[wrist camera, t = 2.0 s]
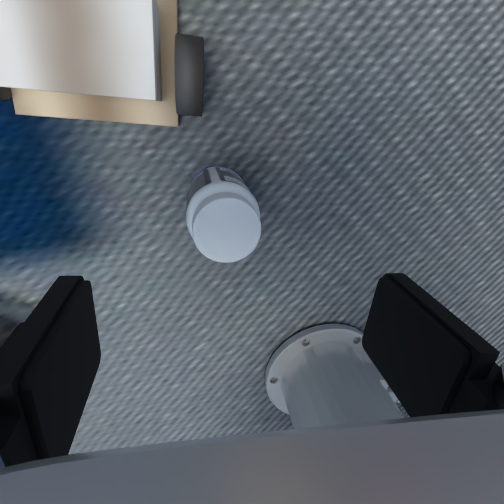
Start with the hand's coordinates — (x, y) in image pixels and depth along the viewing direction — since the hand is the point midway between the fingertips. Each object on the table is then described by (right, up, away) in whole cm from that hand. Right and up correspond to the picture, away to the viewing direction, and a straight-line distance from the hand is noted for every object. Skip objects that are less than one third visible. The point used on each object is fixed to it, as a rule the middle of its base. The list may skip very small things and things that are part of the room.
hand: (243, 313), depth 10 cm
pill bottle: (-3, +7, +15) cm, 17 cm away
